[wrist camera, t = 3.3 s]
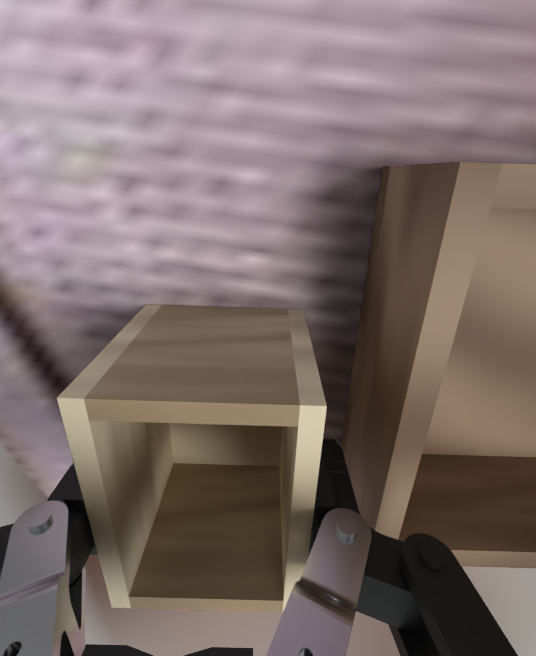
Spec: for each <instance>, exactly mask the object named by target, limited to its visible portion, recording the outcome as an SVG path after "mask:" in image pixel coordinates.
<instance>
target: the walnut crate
mask: <svg viewBox="0 0 536 656" xmlns="http://www.w3.org/2000/svg"><path fill="white" fill-rule="evenodd" d="M341 448H342V450H343V454H344V457H345V461H346V465H347V468H348V473H349V476H350V480H351V483H352V487H353V491H354V494H355V498H356V502H357V505H358V509H359V512H360V514H361V516H362V517H363V518H364V519H365V520H366V522H367V523H368V525H369V526H370V527H371V528H372V529H374V530H375V531H377V532H379V533H381V534H383V535H385V536H388V537H391V538H394V539H397V540H400V541H403V542H404V540H405V539H406V538H407V537H408V536H409V535H412V534H415V533H423V534H427V535H430V536H433V537H435V538H437V539H439V540H440V541H441V542H443V543H444V544H445V545H446V546H447V547H448V548H449V549H450V550H451V551H452V553H453V554H454V556H455V557H456V559H457V560H458V562H459V563H460V565H461V566H474V567H475V566H476V567H510V568H536V164H511V163H480V162H451V163H435V164H419V165H403V166H388V167H382V174H381V181H380V187H379V194H378V201H377V207H376V214H375V221H374V228H373V234H372V241H371V248H370V254H369V261H368V268H367V274H366V281H365V288H364V294H363V301H362V308H361V314H360V321H359V328H358V334H357V341H356V348H355V354H354V361H353V368H352V374H351V381H350V388H349V394H348V401H347V408H346V414H345V421H344V428H343V434H342V441H341Z"/></svg>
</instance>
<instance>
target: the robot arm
mask: <svg viewBox="0 0 536 656" xmlns="http://www.w3.org/2000/svg"><path fill="white" fill-rule="evenodd" d="M90 554H94V555H98V552H97V549H96V545H95V541H94V537H93V534H92V530H91V526H90V522H89V518H88V515H87V511H86V507H85V503H84V499H83V496H82V492H81V488H80V484H79V481H78V477H77V473H76V469H75V465H74V462H73V465H71V466H70V468H69V469H68V471H67V472H66V474H65V475H64V477H63V478H62V479H61V481H60V482H59V484H58V485H57V487H56V488H55V490H54V491H53V492H52V494H51V495H50V497H49V498H48V500H47V501H46V502H42V503H39V504H37V505H35V506H33V507H31V508H29V509H28V510H27V511H25V512H24V513H23V514H22V515H21V516H19V518H18V519H17V520H16V521H15V523H14V524H11V525H7V526H3V527H0V656H153V655H150V654H148V653H145V652H143V651H140V650H138V649H135V648H133V647H130V646H127V645H88V644H87V645H85V568H84V566H85V563H86V561H87V559H88V557H89V555H90ZM356 611H358V612H360V613H363V614H365V615H368V616H370V617H372V618H375V619H377V620H380V621H382V622H385V623H387V624H388V625H389V627H390V629H391V632H392V635H393V637H394V640H395V643H396V645H397V648H398V650H399V653H400V655H401V656H518V655H517V654H516V652H515V650H514V649H513V647H512V646H511V644H510V643H509V641H508V639H507V638H506V636H505V635H504V633H503V632H502V630H501V628H500V627H499V625H498V624H497V622H496V620H495V619H494V617H493V616H492V614H491V613H490V611H489V609H488V608H487V606H486V605H485V603H484V602H483V600H482V598H481V597H480V595H479V593H478V592H477V590H476V589H475V587H474V586H473V584H472V582H471V581H470V579H469V578H468V576H467V575H466V573H465V571H464V570H463V568H462V567H461V565H460V563H459V562H458V560H457V559H456V557H455V556H454V554H453V553H452V551H451V550H450V549H449V548H448V547H447V546H446V545H445V544H444V543H443V542H441V541H440V540H439V539H437V538H435V537H433V536H430V535H427V534H423V533H415V534H412V535H409V536H408V537H407V538H406V539H405V540H404V542H403V541H400V540H397V539H394V538H391V537H388V536H385V535H383V534H381V533H379V532H377V531H375V530H374V529H372V528H371V527H370V526H369V525H368V523H367V522H366V520H365V519H364V518H363V517H362V516H361V514H360V512H359V509H358V505H357V502H356V498H355V494H354V491H353V487H352V483H351V480H350V476H349V473H348V468H347V465H346V461H345V457H344V454H343V450H342V448H341V447H340V446H339V445H338V443H337V442H336V441H335V440H334V439H323V442H322V450H321V458H320V466H319V474H318V482H317V490H316V498H315V506H314V515H313V523H312V531H311V539H310V547H309V555H308V560H307V563H306V566H305V568H304V571H303V573H302V576H301V578H300V580H299V581H297V582H296V583H295V585H294V587H293V589H292V591H291V594H290V596H289V599H288V601H287V604H286V607H285V609H284V612H283V614H282V617H281V619H280V622H279V625H278V627H277V630H276V632H275V635H274V637H273V640H272V643H271V645H270V648H269V650H268V653H267V656H346V653H347V648H348V644H349V639H350V635H351V630H352V626H353V621H354V616H355V612H356ZM185 656H253V648H219V647H218V648H217V647H212V648H208V649H205V650H201V651H198V652H195V653H192V654H188V655H185Z"/></svg>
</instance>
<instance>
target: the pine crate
mask: <svg viewBox="0 0 536 656" xmlns="http://www.w3.org/2000/svg"><path fill="white" fill-rule="evenodd" d="M57 401H58V405H59V409H60V412H61V416H62V420H63V424H64V428H65V431H66V435H67V439H68V443H69V446H70V450H71V454H72V458H73V462H74V465H75V469H76V473H77V477H78V481H79V484H80V488H81V492H82V496H83V499H84V503H85V507H86V511H87V515H88V518H89V522H90V526H91V530H92V534H93V537H94V541H95V545H96V549H97V552H98V556H99V560H100V564H101V567H102V571H103V575H104V579H105V583H106V586H107V590H108V594H109V598H110V602H111V605H112V607H113V608H148V609H185V610H224V611H263V612H264V611H265V612H284V609H285V607H286V604H287V601H288V599H289V596H290V594H291V591H292V589H293V587H294V585H295V583H296V582H297V581H299V580H300V578H301V576H302V573H303V571H304V568H305V566H306V563H307V560H308V555H309V547H310V539H311V531H312V523H313V515H314V506H315V498H316V490H317V482H318V474H319V466H320V458H321V450H322V442H323V434H324V426H325V418H326V410H327V404H326V400H325V396H324V392H323V388H322V384H321V380H320V376H319V371H318V367H317V363H316V359H315V355H314V351H313V347H312V343H311V339H310V334H309V330H308V326H307V322H306V318H305V314H304V310H303V309H274V308H243V307H211V306H180V305H149V304H146V305H145V306H144V307H143V308H142V309H141V310H140V311H139V312H138V313H137V314H136V315H135V316H134V318H133V319H132V320H131V321H130V322H129V323H128V324H127V325H126V326H125V327H124V328H123V329H122V330H121V331H120V332H119V333H118V334H117V335H116V336H115V337H114V338H113V340H112V341H111V342H110V343H109V344H108V345H107V346H106V347H105V348H104V349H103V350H102V351H101V352H100V353H99V354H98V355H97V356H96V357H95V358H94V359H93V361H92V362H91V363H90V364H89V365H88V366H87V367H86V368H85V369H84V370H83V371H82V372H81V373H80V374H79V375H78V376H77V377H76V378H75V379H74V380H73V381H72V383H71V384H70V385H69V386H68V387H67V388H66V389H65V390H64V391H63V392H62V393H61V394H60V395H59V396H58V397H57Z"/></svg>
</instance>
